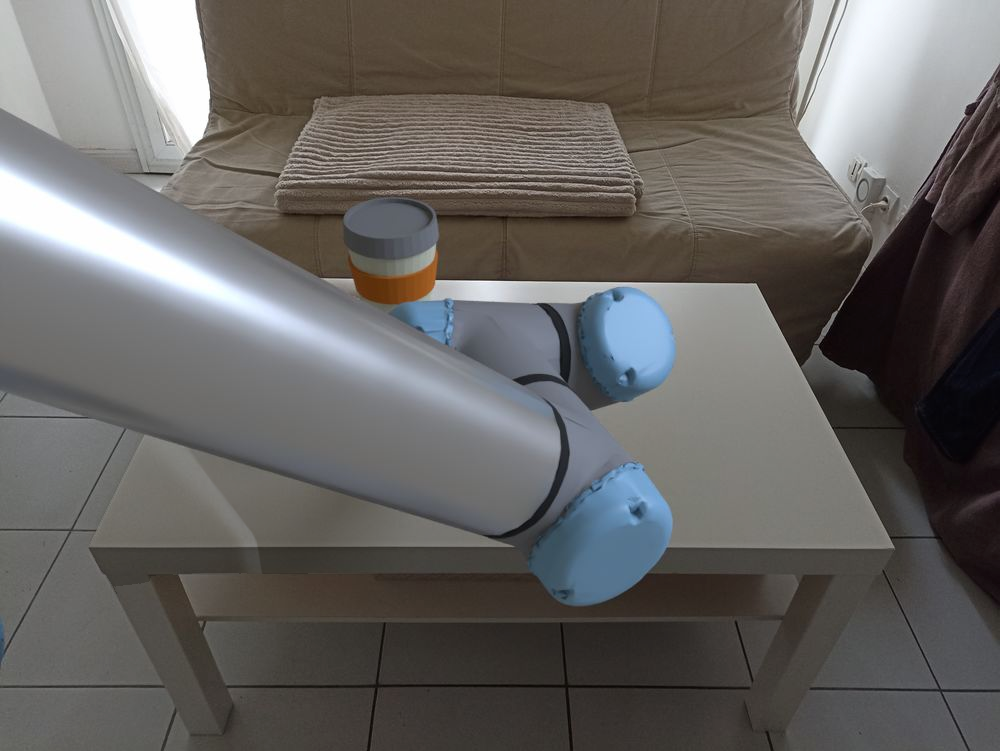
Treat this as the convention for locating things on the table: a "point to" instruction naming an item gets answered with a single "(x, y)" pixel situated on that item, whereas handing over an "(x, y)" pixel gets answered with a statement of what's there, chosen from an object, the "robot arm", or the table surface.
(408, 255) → the reusable coffee cup
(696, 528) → the table surface
